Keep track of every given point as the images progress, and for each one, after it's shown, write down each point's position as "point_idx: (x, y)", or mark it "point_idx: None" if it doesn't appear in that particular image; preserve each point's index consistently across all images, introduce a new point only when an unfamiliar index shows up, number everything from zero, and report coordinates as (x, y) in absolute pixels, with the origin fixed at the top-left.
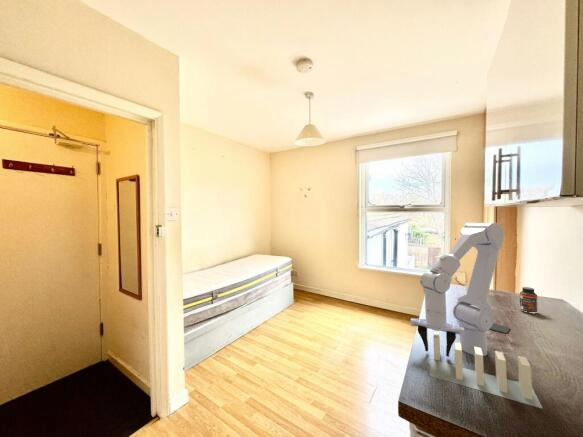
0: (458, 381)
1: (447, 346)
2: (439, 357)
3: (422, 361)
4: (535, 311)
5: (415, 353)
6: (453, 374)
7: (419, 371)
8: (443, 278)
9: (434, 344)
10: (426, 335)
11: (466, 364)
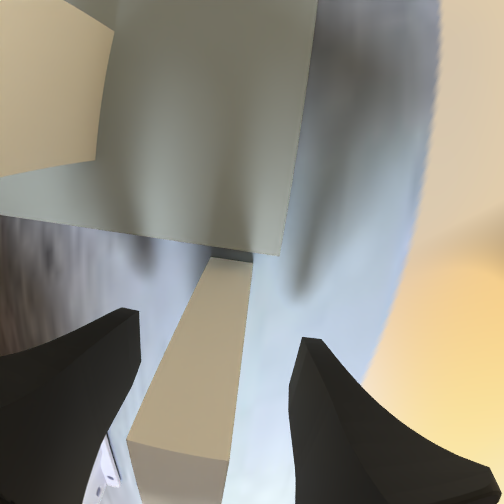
0: (109, 4)
1: (71, 352)
2: (200, 280)
3: (346, 248)
4: None
5: (376, 346)
6: (120, 75)
7: (384, 81)
8: None
9: (227, 368)
10: (338, 482)
11: (59, 317)
